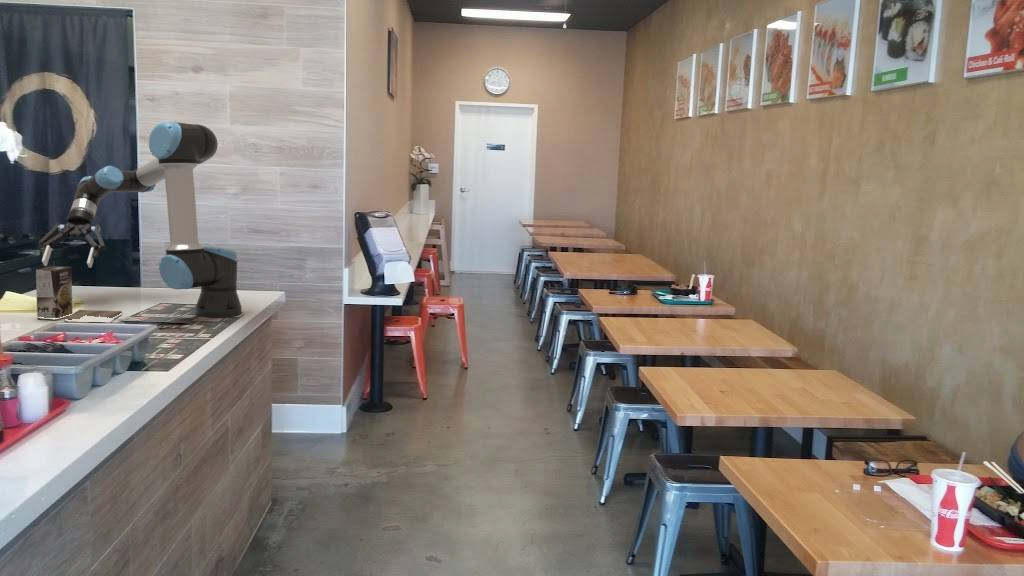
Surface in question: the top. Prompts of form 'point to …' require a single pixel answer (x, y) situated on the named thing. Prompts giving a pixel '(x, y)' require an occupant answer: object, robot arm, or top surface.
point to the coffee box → (54, 291)
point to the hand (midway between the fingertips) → (66, 264)
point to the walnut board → (93, 314)
